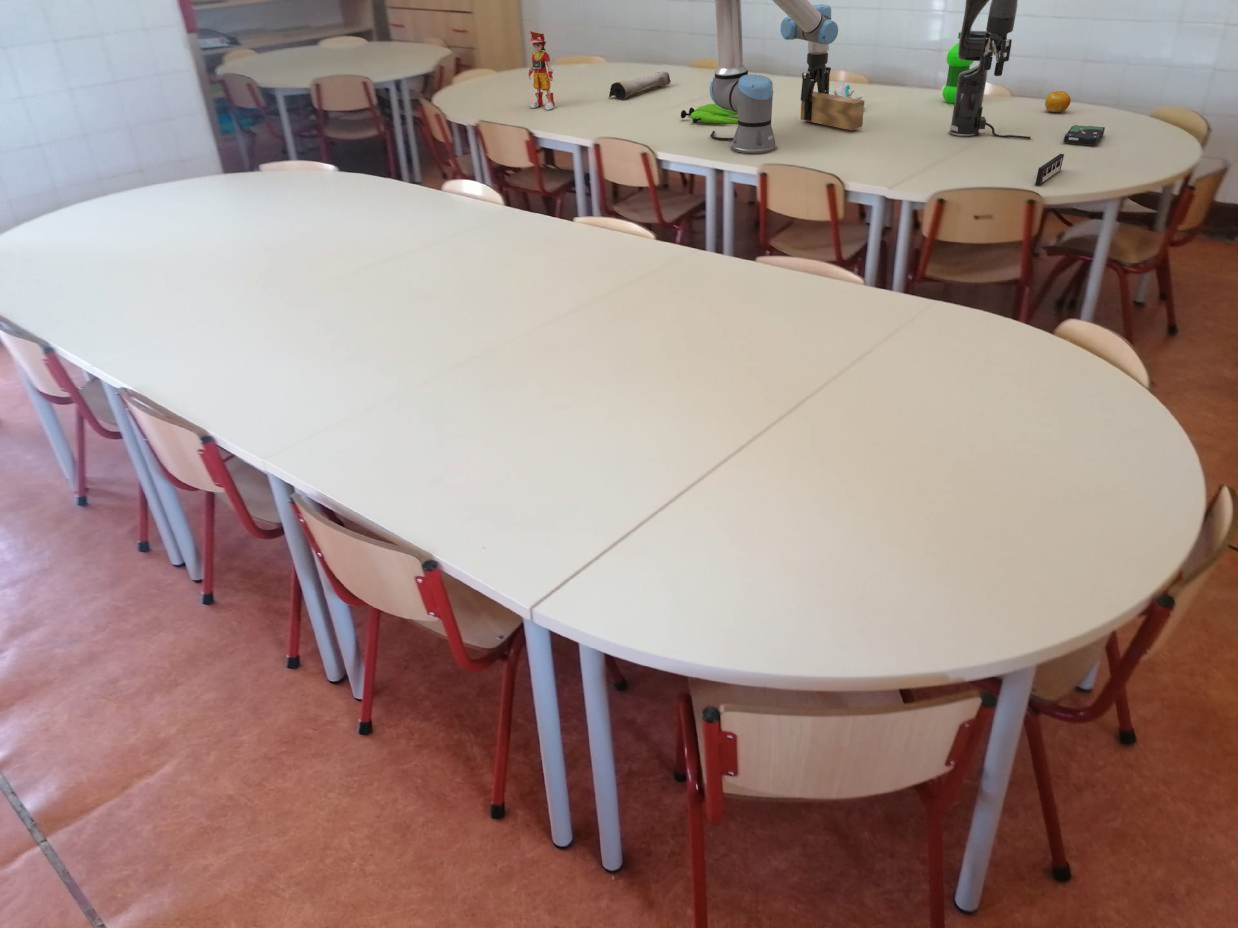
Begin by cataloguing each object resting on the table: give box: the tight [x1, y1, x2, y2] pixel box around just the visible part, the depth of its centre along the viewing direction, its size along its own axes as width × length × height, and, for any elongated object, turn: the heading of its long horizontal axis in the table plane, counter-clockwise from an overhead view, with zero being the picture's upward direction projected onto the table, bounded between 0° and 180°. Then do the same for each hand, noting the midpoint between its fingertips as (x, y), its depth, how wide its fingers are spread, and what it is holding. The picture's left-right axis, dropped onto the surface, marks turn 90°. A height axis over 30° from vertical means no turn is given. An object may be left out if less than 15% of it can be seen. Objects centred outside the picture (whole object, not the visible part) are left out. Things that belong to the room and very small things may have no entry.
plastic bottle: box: [942, 31, 974, 104], centre depth 348 cm, size 10×10×25 cm
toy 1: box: [527, 31, 556, 111], centre depth 374 cm, size 12×9×30 cm
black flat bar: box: [1035, 153, 1065, 186], centre depth 273 cm, size 18×1×5 cm, turn 138°
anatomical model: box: [833, 81, 867, 110], centre depth 353 cm, size 15×10×10 cm
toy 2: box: [680, 103, 738, 124], centre depth 349 cm, size 28×5×30 cm
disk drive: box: [1063, 124, 1106, 146], centre depth 304 cm, size 10×3×15 cm
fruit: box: [1044, 90, 1072, 113], centre depth 334 cm, size 8×8×8 cm
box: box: [799, 90, 865, 131], centre depth 332 cm, size 24×6×9 cm, turn 39°
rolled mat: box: [608, 71, 672, 101], centre depth 395 cm, size 30×9×10 cm
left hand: (813, 118), depth 340 cm, fingers closed on box, 6 cm apart
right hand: (992, 73), depth 274 cm, fingers open, 8 cm apart
